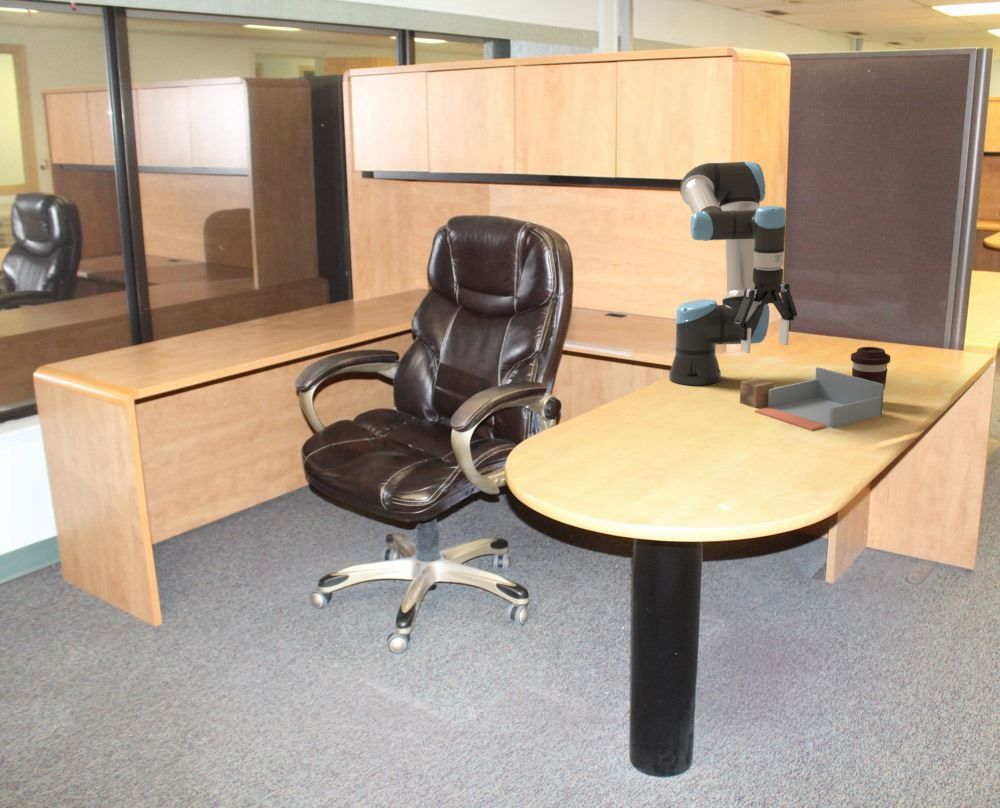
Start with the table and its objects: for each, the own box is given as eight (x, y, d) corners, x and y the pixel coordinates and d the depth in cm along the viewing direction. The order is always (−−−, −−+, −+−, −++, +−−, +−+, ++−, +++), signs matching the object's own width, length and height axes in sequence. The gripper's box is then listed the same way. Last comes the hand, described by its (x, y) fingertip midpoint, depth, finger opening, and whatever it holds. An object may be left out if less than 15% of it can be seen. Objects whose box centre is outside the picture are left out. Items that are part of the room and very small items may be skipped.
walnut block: (739, 406, 276) (740, 381, 274) (756, 403, 278) (757, 378, 276) (755, 411, 270) (756, 386, 269) (772, 408, 273) (773, 383, 271)
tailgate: (768, 411, 269) (754, 415, 267) (769, 407, 269) (755, 410, 266) (825, 430, 253) (811, 434, 250) (826, 425, 252) (811, 429, 250)
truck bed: (767, 410, 271) (769, 377, 268) (816, 399, 279) (818, 367, 277) (831, 431, 252) (833, 396, 250) (881, 418, 261) (884, 384, 258)
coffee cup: (889, 409, 268) (893, 354, 264) (850, 408, 270) (853, 353, 266) (883, 398, 278) (887, 345, 274) (845, 398, 280) (849, 344, 276)
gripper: (742, 275, 252) (739, 358, 258) (813, 263, 263) (809, 343, 270) (721, 271, 258) (718, 352, 264) (792, 260, 270) (788, 337, 276)
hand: (764, 347), depth 267 cm, fingers open, 13 cm apart
